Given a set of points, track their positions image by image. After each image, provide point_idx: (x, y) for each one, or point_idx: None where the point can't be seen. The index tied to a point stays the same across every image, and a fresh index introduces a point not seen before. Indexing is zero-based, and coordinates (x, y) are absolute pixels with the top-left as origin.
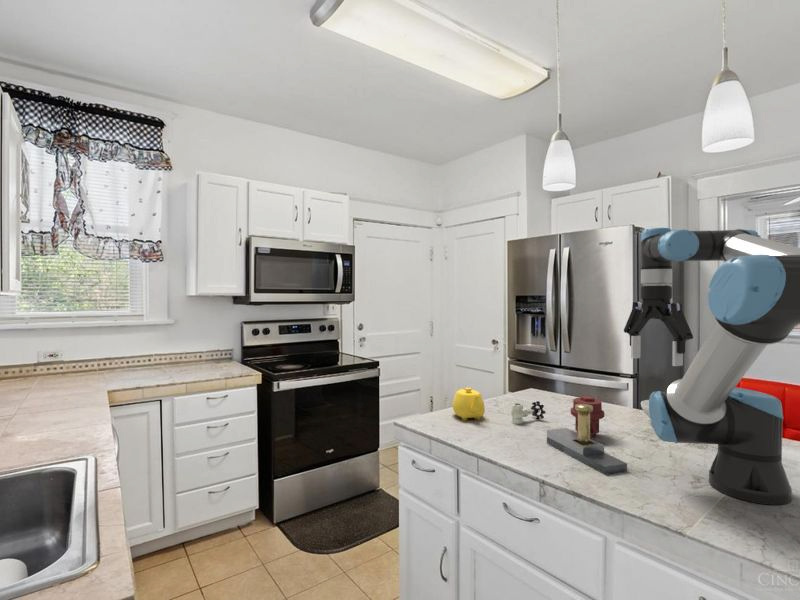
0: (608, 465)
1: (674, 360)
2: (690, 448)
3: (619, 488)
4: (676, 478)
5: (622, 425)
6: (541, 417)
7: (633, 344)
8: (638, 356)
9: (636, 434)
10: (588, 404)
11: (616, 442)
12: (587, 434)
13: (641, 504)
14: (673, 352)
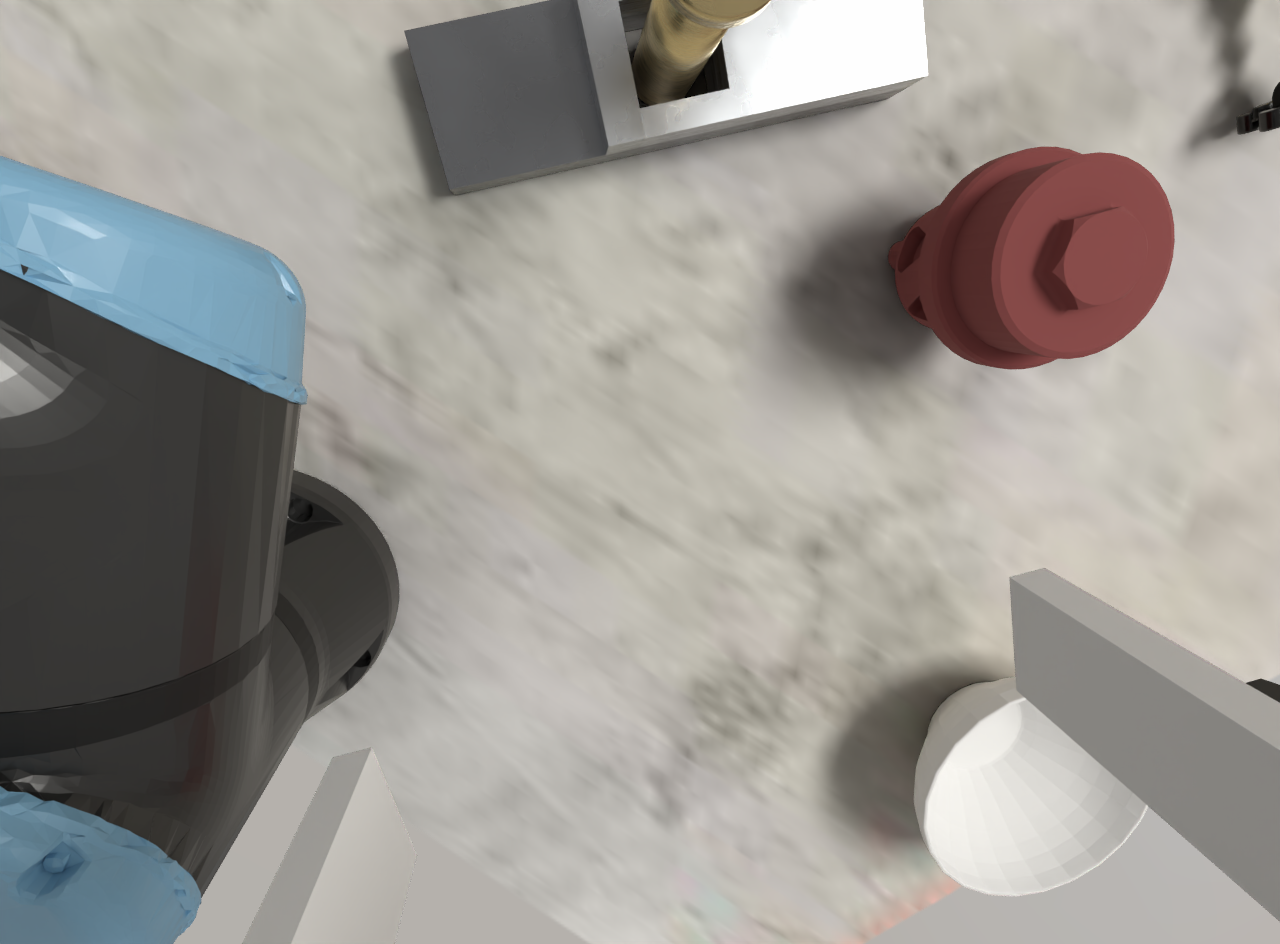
0: (421, 63)
1: (313, 817)
2: (698, 649)
3: (247, 22)
4: (373, 378)
5: (1029, 535)
6: (1243, 114)
7: (1202, 707)
8: (1029, 672)
9: (900, 527)
10: (1004, 219)
11: (817, 367)
12: (647, 28)
13: (72, 23)
14: (277, 926)
